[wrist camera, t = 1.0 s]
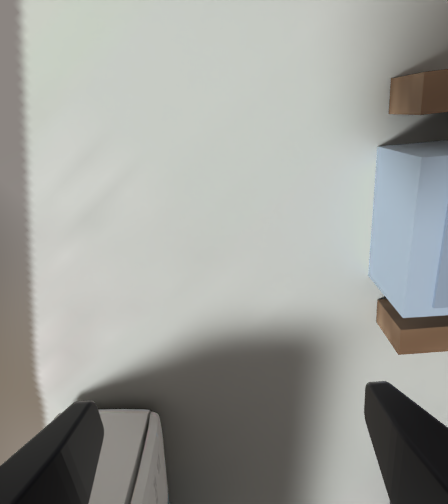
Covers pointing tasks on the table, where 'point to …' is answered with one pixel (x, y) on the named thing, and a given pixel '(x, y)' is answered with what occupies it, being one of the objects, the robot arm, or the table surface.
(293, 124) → the table surface
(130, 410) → the stereo radio cassette player
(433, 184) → the crate
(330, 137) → the table surface
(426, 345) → the rack bay
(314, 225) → the table surface
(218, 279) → the table surface
